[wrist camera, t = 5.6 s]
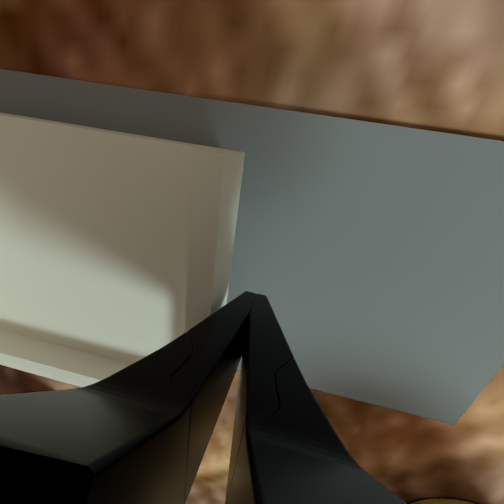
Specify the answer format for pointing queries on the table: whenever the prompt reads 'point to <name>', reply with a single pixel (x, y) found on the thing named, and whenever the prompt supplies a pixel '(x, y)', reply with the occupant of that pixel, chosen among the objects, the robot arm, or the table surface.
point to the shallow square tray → (108, 244)
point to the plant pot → (441, 501)
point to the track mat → (341, 235)
